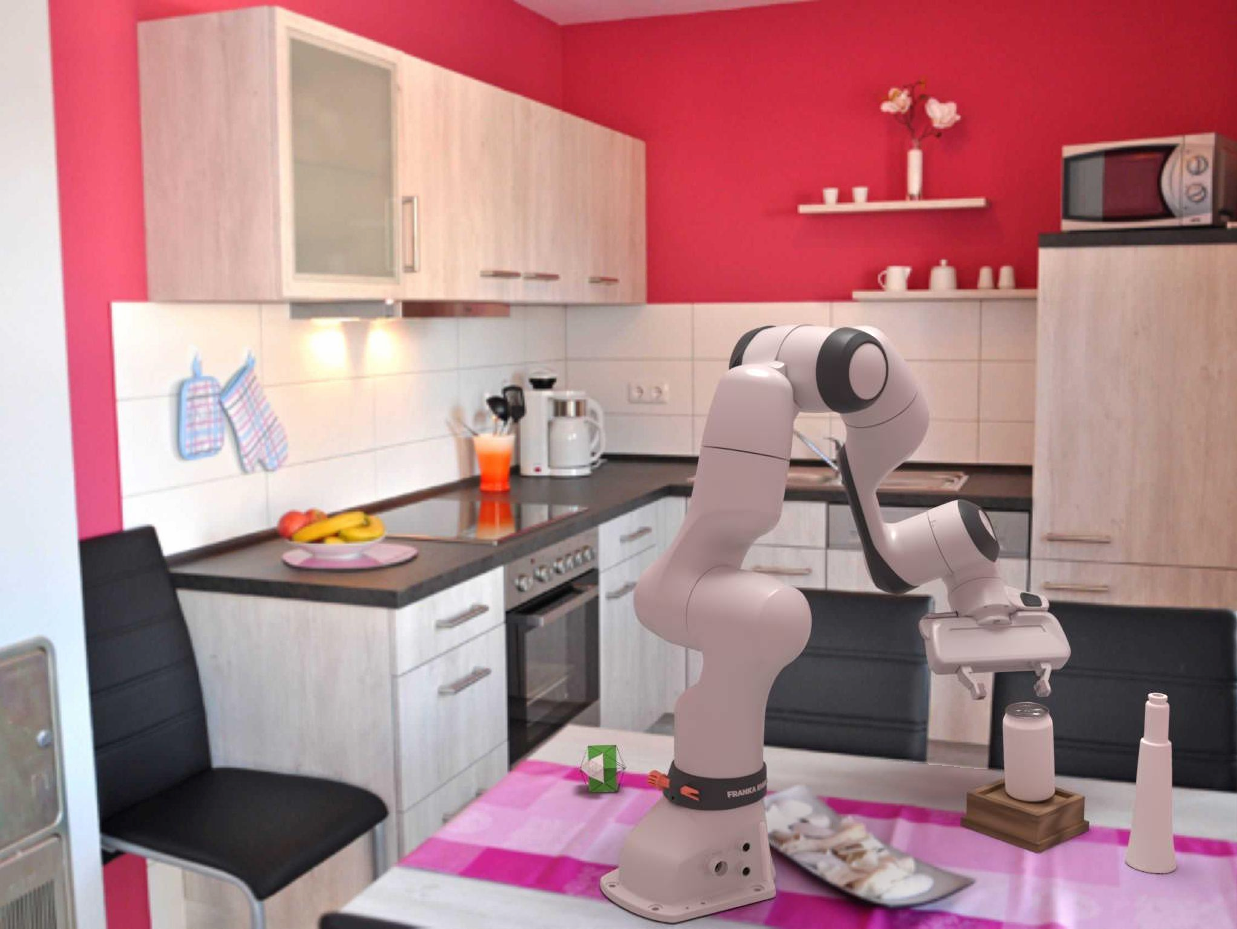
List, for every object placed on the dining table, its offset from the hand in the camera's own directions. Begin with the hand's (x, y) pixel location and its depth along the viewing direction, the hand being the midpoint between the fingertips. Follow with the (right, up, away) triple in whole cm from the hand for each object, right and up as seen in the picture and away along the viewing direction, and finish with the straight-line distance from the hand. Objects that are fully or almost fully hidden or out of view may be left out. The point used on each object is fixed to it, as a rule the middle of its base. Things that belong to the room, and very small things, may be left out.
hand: (1012, 696), depth 181 cm
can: (+2, -13, -2) cm, 13 cm away
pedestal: (+1, -17, -3) cm, 18 cm away
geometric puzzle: (-57, -16, +12) cm, 60 cm away
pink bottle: (+13, -19, -15) cm, 27 cm away
